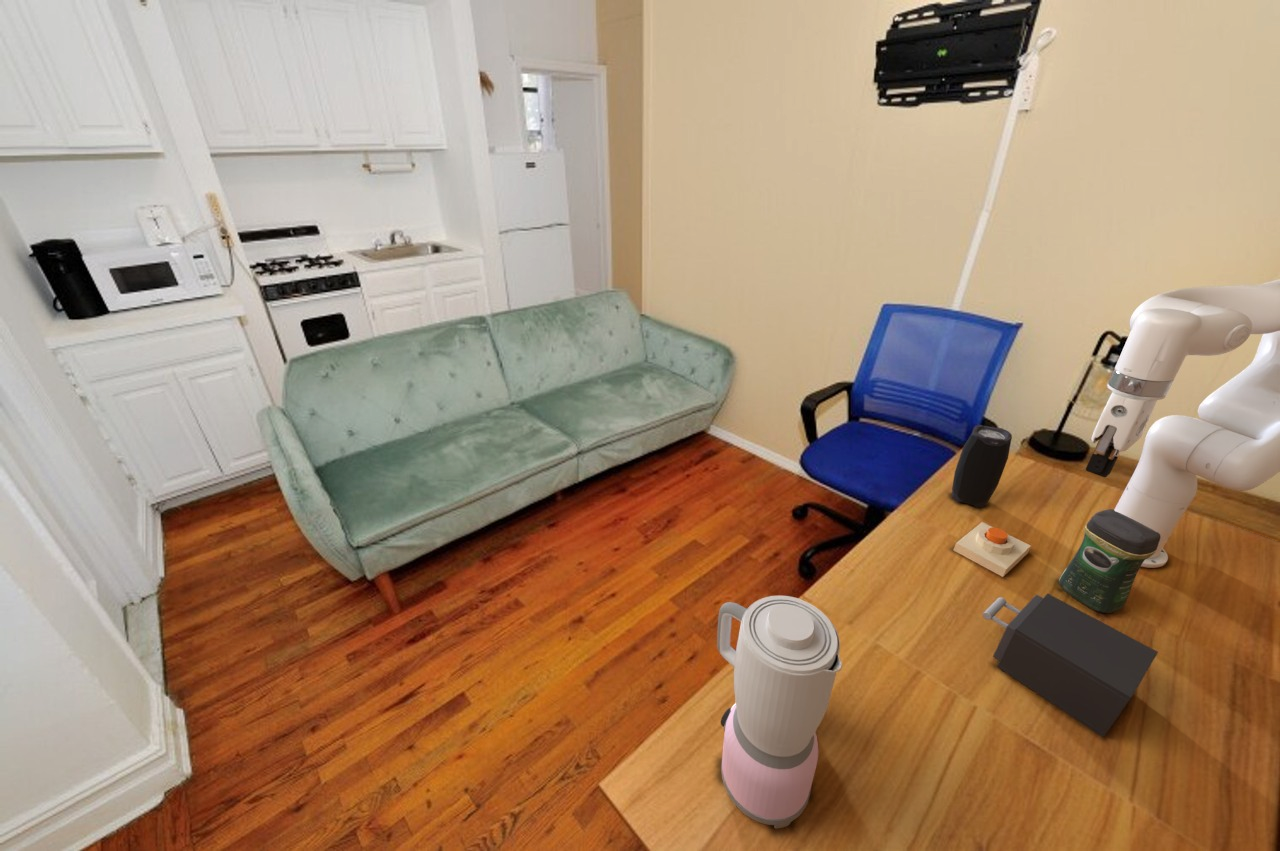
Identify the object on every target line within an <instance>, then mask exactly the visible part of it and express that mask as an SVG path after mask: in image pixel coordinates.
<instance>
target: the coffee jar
mask: <svg viewBox="0 0 1280 851" xmlns="http://www.w3.org/2000/svg"><path fill="white" fill-rule="evenodd" d="M1160 537H1161V536H1160V534H1159V533H1158V532H1156V531H1154V530H1152V529H1151V528H1149V527H1147V526H1145V525H1143V524H1141V523H1139V522H1137V521H1135V520H1133V519H1131V518H1129V517H1127V516H1125V515H1123V514H1121V513H1118V512H1116V511H1115V510H1114V509H1113V508H1109V509H1104V510H1100V511H1097V512H1095V513H1094V514H1093V516H1091V518H1090V519H1089V521H1088V522H1087V523H1086V524H1085V526H1084V536H1083V539H1082V542H1081V544H1080V546H1079V547H1078V550H1077V552H1076V553H1075V554H1074V556H1073V558H1072V559H1071V560H1070V562H1069V564H1068V565H1067V566H1066V568H1065V569H1064V571H1063V572H1062V573H1061V575H1060V577H1059V580H1058V585H1059V587H1060V588H1061V589H1062V590H1063V591H1064V592H1065V593H1066V594H1068V595H1069V596H1070V597H1071V598H1073V599H1074V600H1076V601H1078V602H1079V603H1080V604H1082V605H1084V607H1087V608H1088V609H1090V610H1092V611H1094V612H1096V613H1102V614H1112V613H1116V612H1118V611H1120V610H1122V609H1123V608H1124V606H1125V604H1126V603H1127V600H1128V598H1129V595H1130V592H1131V590H1132V587H1133V584H1134V582H1135V579H1136V577H1137V575H1138V572H1139V570H1140V568H1141V567H1140V566H1141V565H1142V563H1143V562H1144V560H1145V559H1147V558H1149V557H1151V556H1152V555H1153V554H1154V553H1155V552H1156V550H1157V547H1158V544H1159V541H1160Z"/></svg>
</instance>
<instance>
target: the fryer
mask: <svg viewBox="0 0 1280 851" xmlns="http://www.w3.org/2000/svg"><path fill="white" fill-rule="evenodd" d="M1042 598H1043V599H1042V600H1041V601H1040V602H1039V603H1038V604H1037V606H1036V607H1035V608H1034V609H1033V610H1032V611H1031V612H1030V613H1029V614H1028V615H1027V617H1026V618H1025V619H1024V620H1023V621H1022V622H1021V623H1020V624H1019V625H1018V627H1017V628H1016V629H1015V631H1014V633H1013V635H1012V637H1011V639H1010V641H1009V644H1008V646H1007V648H1006V650H1005V652H1004V654H1003V656H1002V658H1001V660H1000V661H999V662H998V664H997V668H998V669H999V670H1001V671H1002V672H1004V673H1005V674H1007V675H1009V676H1010V677H1011V678H1013V679H1014V680H1016V681H1018V682H1019V683H1020V684H1022V685H1024V686H1025V687H1026V688H1028V689H1029V690H1031V691H1032V692H1034V693H1036V694H1037V695H1038V696H1039V697H1041V698H1044V699H1045V701H1047V702H1048V703H1051V704H1052V705H1053V706H1055V707H1056V708H1058V709H1059V710H1061V711H1062V712H1064V713H1066V714H1067V715H1069V716H1070V717H1072V718H1073V719H1075V720H1076V721H1078V722H1079V723H1081V724H1082V725H1084V726H1085V727H1086V728H1088V729H1090V730H1091V731H1093V732H1094V733H1096V734H1098V736H1100V737H1102V738H1104V737H1105V736H1106V734H1107V733H1108V732H1109V730H1110V729H1111V728H1112V726H1113V724H1114V723H1115V722H1116V720H1117V719H1118V717H1119V716H1120V714H1121V713H1122V712H1123V710H1124V709H1125V708H1126V706H1127V704H1128V703H1129V702H1130V700H1131V699H1132V698H1133V696H1134V694H1135V693H1136V691H1137V689H1138V688H1139V686H1140V684H1141V682H1142V680H1143V678H1145V675H1146V674H1147V672H1148V670H1149V669H1150V667H1151V665H1152V663H1153V662H1154V661H1155V658H1156V656H1157V655H1158V653H1159V651H1158V650H1155V649H1154V648H1151V647H1150V646H1148V645H1146V644H1144V643H1142V642H1140V641H1138V640H1136V639H1134V638H1133V637H1131V636H1129V635H1127V634H1126V633H1123V632H1122V631H1119V630H1118V629H1116V628H1114V627H1112V626H1110V625H1108V624H1107V623H1105V622H1102V621H1100V620H1098V619H1097V618H1095V617H1093V616H1091V615H1090V614H1088V613H1085V612H1083V611H1082V610H1080V609H1079V608H1076V607H1074V606H1072V605H1071V604H1068V603H1067V602H1065V601H1062V600H1061V599H1060V598H1057V597H1055V596H1053V595H1052V594H1049V593H1047V594H1045V595H1044V596H1043V597H1042Z"/></svg>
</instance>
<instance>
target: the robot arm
mask: <svg viewBox="0 0 1280 851" xmlns="http://www.w3.org/2000/svg"><path fill="white" fill-rule="evenodd" d="M1129 329H1130V331H1129V334H1128V337H1127V339H1126V341H1125V344H1124V346H1123V348H1122V351H1121V353H1120V356H1119V357H1118V359H1117V362H1116V364H1115V366H1114V369H1113V371H1112V373H1111V375H1110V377H1109V380H1108V382H1107V384H1106V387H1107V389H1108V390H1109V391H1111V394H1110V396H1109V397H1108V400H1107V401H1106V404H1105V405H1104V408H1103V410H1102V412H1101V414H1100V416H1099V418H1098V421H1097V423H1096V425H1095V427H1094V429H1093V433H1092V435H1091V438H1090V439H1091V442H1092V443H1093V444H1095V443H1096V446H1095V448H1094V451H1093V452H1092V454H1091V456H1090V457H1089V458H1090V459H1089V461H1088V463H1087V465H1086V467H1085V471H1086V472H1088V473H1091V474H1093V475H1096V476H1099V477H1102V478H1107V477H1108V476H1109V475H1110V474H1111V472H1112V471H1113V468H1114V466H1115V464H1116V462H1117V460H1118V459H1119V456H1118V455H1119V454H1120V453H1121V452H1122V453H1123V452H1125V451H1127V450H1129V449H1130V448H1131V447H1132V446H1134V445H1135V444H1136V443H1138V441H1139V440H1140V439H1141V438H1142V436H1143V434H1144V432H1145V429H1146V427H1147V425H1148V423H1149V420H1150V418H1151V416H1152V414H1153V411H1154V409H1155V406H1156V404H1157V402H1158V401H1160V400H1164V399H1165V398H1166V396H1167V395H1168V394H1169V391H1170V389H1171V387H1172V385H1173V383H1174V381H1175V378H1176V377H1177V375H1178V373H1179V371H1180V369H1181V368H1182V365H1183V363H1184V360H1185V359H1186V357H1187V356H1202V357H1204V356H1205V357H1214V356H1221V355H1224V354H1227V353H1230V352H1233V351H1235V350H1236V349H1238V348H1239V347H1241V346H1242V345H1243V344H1244V343H1245V342H1246V341H1247V340H1248V339H1249V338H1250V336H1251V335H1262V336H1261V338H1260V341H1259V343H1258V346H1257V350H1256V352H1255V355H1254V357H1253V360H1252V361H1251V363H1249V365H1247V366H1246V367H1245V368H1244V369H1243V370H1241V371H1240V372H1238V373H1237V374H1236V375H1234V376H1233V377H1232V378H1230V379H1229V380H1228V381H1226V382H1225V383H1223V384H1222V385H1221V386H1219V387H1218V388H1217V389H1216V390H1214V391H1212V392H1211V393H1210V394H1209V395H1208V396H1207V397H1205V398H1204V399H1203V400H1202V402H1201V403H1200V404H1199V406H1198V408H1197V414H1198V417H1199V418H1197V417H1193V416H1188V415H1183V414H1172V415H1167V416H1166V415H1165V416H1163V417H1161V418H1159V419H1157V420H1156V421H1154V423H1153V424H1152V425H1151V426H1150V427H1149V429H1148V431H1147V433H1146V435H1145V439H1144V443H1143V447H1142V451H1141V454H1140V458H1139V461H1138V463H1137V465H1136V467H1135V469H1134V471H1133V473H1132V476H1131V477H1130V479H1129V481H1128V483H1127V485H1126V487H1125V488H1124V490H1123V492H1122V494H1121V496H1120V498H1119V500H1118V502H1117V504H1116V505H1115V507H1114V509H1113V510H1115V511H1116V512H1118V513H1121V514H1123V515H1125V516H1127V517H1129V518H1131V519H1133V520H1135V521H1137V522H1139V523H1141V524H1143V525H1145V526H1147V527H1149V528H1151V529H1152V530H1154V531H1156V532H1158V533H1159V534H1160V536H1161V537H1160V541H1159V544H1158V547H1157V550H1156V552H1155V553H1154V554H1153V555H1152V556H1151V557H1149V558H1147V559H1145V560H1144V562H1143V563H1142V565H1141V566H1140V568H1146V569H1147V568H1149V569H1155V568H1160V567H1163V566H1165V565H1166V563H1167V562H1168V560H1169V555H1168V553H1167V551H1166V550H1165V549H1164V547H1165V545H1166V543H1167V542H1168V540H1169V539H1170V537H1171V536H1172V534H1173V532H1174V530H1176V528H1177V526H1178V524H1179V522H1180V521H1181V519H1182V518H1183V516H1184V514H1186V513H1185V512H1186V511H1187V509H1188V508H1189V506H1190V505H1191V504H1192V501H1194V498H1195V497H1196V495H1197V491H1198V477H1200V478H1202V479H1205V480H1207V481H1209V482H1212V483H1214V484H1215V485H1219V486H1220V487H1223V488H1226V489H1228V490H1231V491H1236V492H1246V491H1252V490H1253V489H1255V488H1258V487H1260V486H1261V485H1263V484H1265V483H1266V482H1267V481H1268V480H1270V479H1272V478H1273V477H1275V476H1276V475H1277V474H1279V473H1280V278H1278V279H1274V280H1270V281H1267V282H1263V283H1259V284H1236V285H1218V286H1216V285H1215V286H1192V287H1184V288H1179V289H1173V290H1170V291H1166V292H1162V293H1159V294H1156V295H1153V296H1151V297H1150V298H1148V299H1146V300H1145V301H1143V302H1141V304H1139V305H1137V307H1136V308H1135V310H1134V311H1133V312H1132V315H1131V316H1130V318H1129Z"/></svg>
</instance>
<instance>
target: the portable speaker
mask: <svg viewBox="0 0 1280 851" xmlns="http://www.w3.org/2000/svg"><path fill="white" fill-rule="evenodd" d="M1012 438H1013V435H1012V433H1011V432H1010V431H1009V430H1007V429H1004V428H1002V427H995V426H994V427H993V426H987V425H982V424H976V425H975V426H974V427H973V428H972V431H971V434H970V435H969V437H968V438H967V441H966V442H965V444H964V445H963V447H962V450H961V453H960V455H959V458H958V461H957V465H956V467H955V470H954V474H953V481H952V487H951V499H952V500H954V501H955V502H956V503H957V504H961V503H963V504H964V503H965V504H967V505H969V506H974V508H975V509H983V508H985V507H986V506H987V504H988V502H989V501H990V499H991V498H992V496H993V494H994V493H995V491H996V489H997V487H998V485H999V483H1000V482H1001V478H1002V476H1003V473H1004V471H1005V467H1006V465H1007V462H1008V460H1009V456H1010V450H1011V443H1012Z"/></svg>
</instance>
